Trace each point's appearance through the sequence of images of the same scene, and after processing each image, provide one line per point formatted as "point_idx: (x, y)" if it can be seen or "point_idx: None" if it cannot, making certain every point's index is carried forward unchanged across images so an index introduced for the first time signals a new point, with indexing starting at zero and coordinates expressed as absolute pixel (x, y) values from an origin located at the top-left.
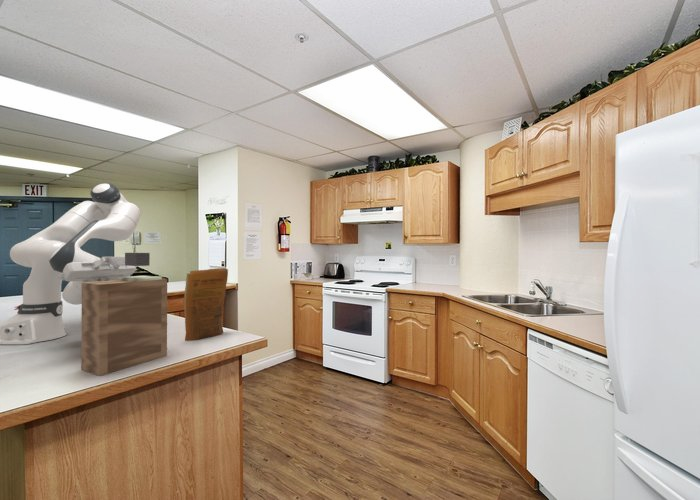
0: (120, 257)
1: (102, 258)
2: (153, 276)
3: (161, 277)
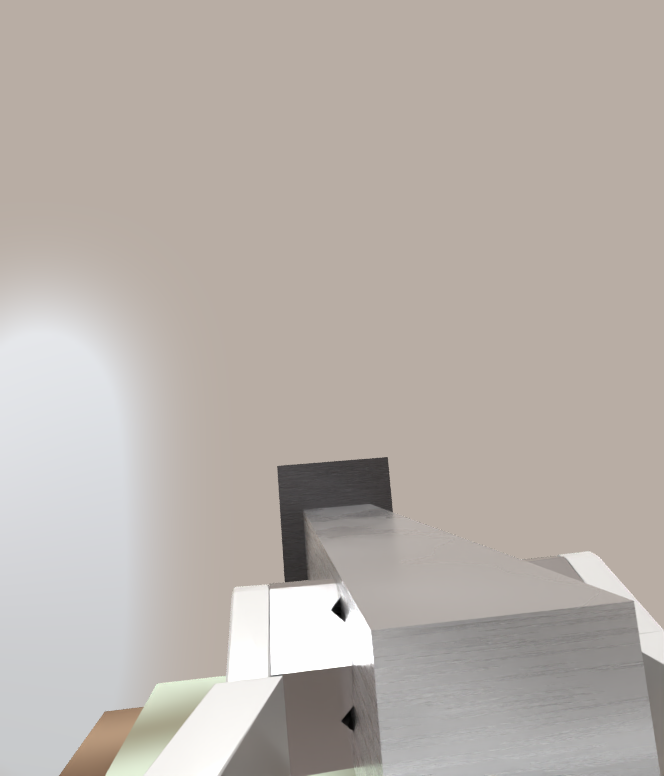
0: (392, 512)
1: (591, 575)
2: (140, 728)
3: (157, 688)
